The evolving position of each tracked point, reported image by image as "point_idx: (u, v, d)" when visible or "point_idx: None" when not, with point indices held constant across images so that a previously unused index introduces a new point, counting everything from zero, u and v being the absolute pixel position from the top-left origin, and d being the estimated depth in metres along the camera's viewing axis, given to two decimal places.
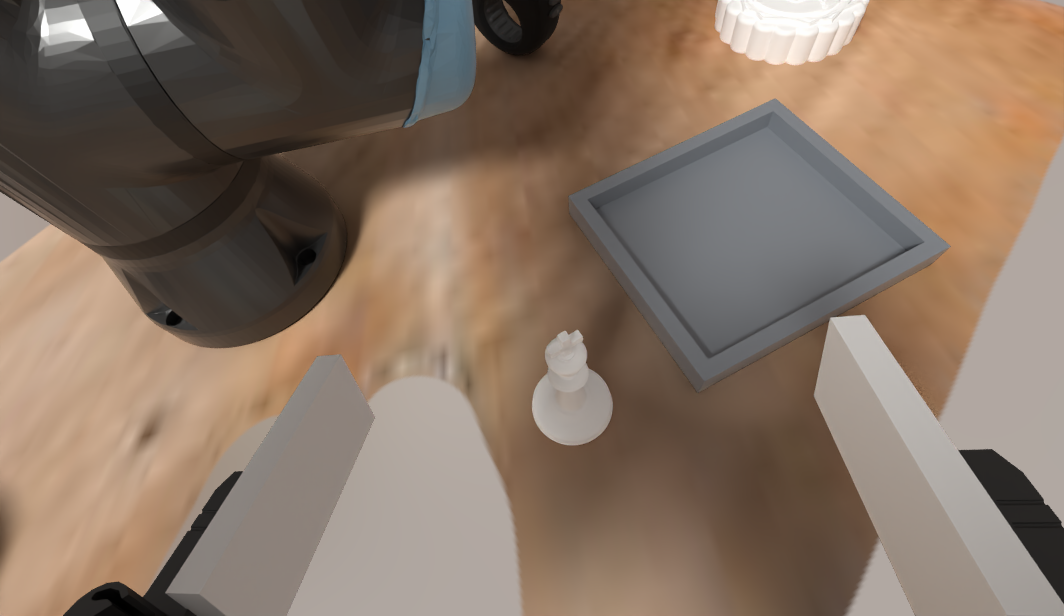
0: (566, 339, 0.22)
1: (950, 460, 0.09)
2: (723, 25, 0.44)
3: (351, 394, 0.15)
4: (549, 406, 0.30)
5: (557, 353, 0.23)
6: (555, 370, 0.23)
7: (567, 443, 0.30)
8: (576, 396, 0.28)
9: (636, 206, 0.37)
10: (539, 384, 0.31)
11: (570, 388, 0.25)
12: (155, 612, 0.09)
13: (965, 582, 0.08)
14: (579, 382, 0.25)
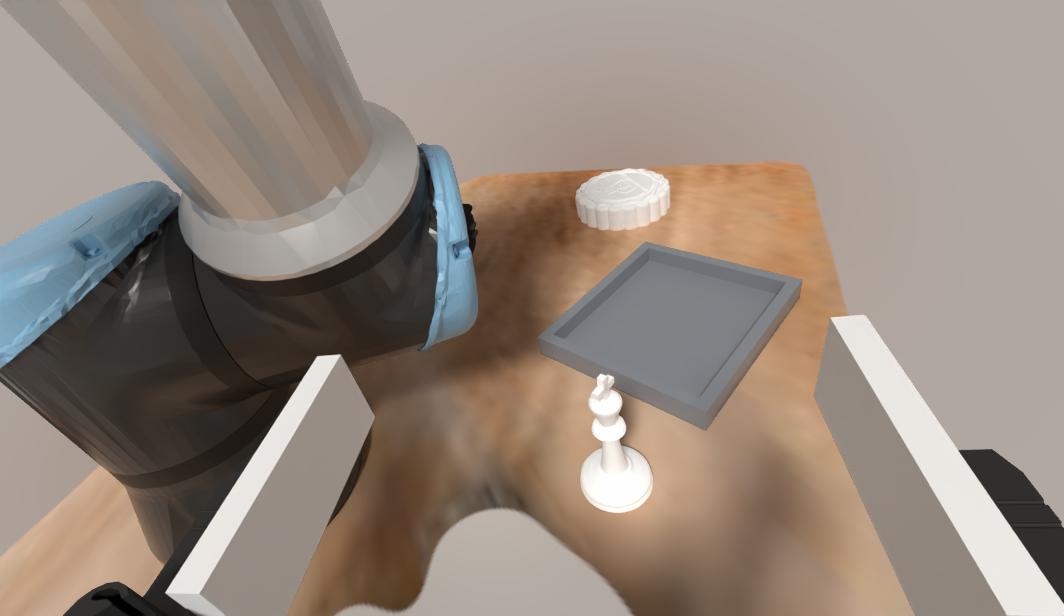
0: (604, 378, 0.28)
1: (950, 460, 0.09)
2: (587, 217, 0.63)
3: (351, 394, 0.15)
4: (600, 483, 0.33)
5: (601, 394, 0.29)
6: (603, 413, 0.29)
7: (629, 508, 0.32)
8: (621, 453, 0.32)
9: (588, 330, 0.47)
10: (582, 472, 0.34)
11: (617, 434, 0.30)
12: (155, 612, 0.09)
13: (965, 582, 0.08)
14: (621, 428, 0.31)
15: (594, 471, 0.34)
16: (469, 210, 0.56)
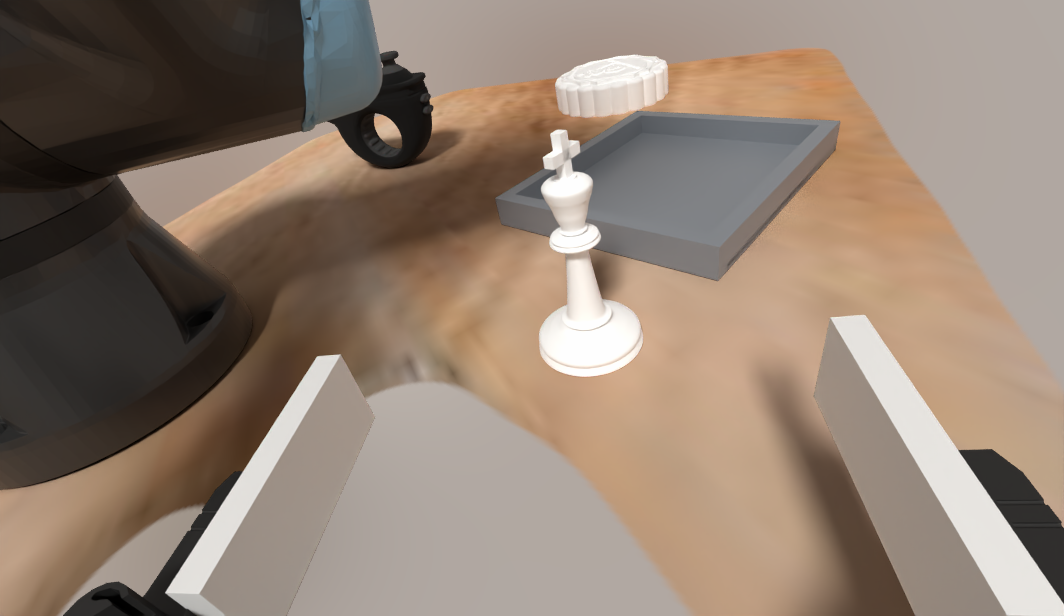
0: (563, 132, 0.18)
1: (950, 460, 0.09)
2: (569, 104, 0.52)
3: (351, 394, 0.15)
4: (565, 337, 0.23)
5: (558, 160, 0.18)
6: (563, 193, 0.19)
7: (607, 370, 0.22)
8: (595, 286, 0.22)
9: None
10: (542, 329, 0.24)
11: (586, 241, 0.20)
12: (155, 612, 0.09)
13: (965, 582, 0.08)
14: (593, 234, 0.20)
15: (558, 325, 0.23)
16: (421, 76, 0.45)
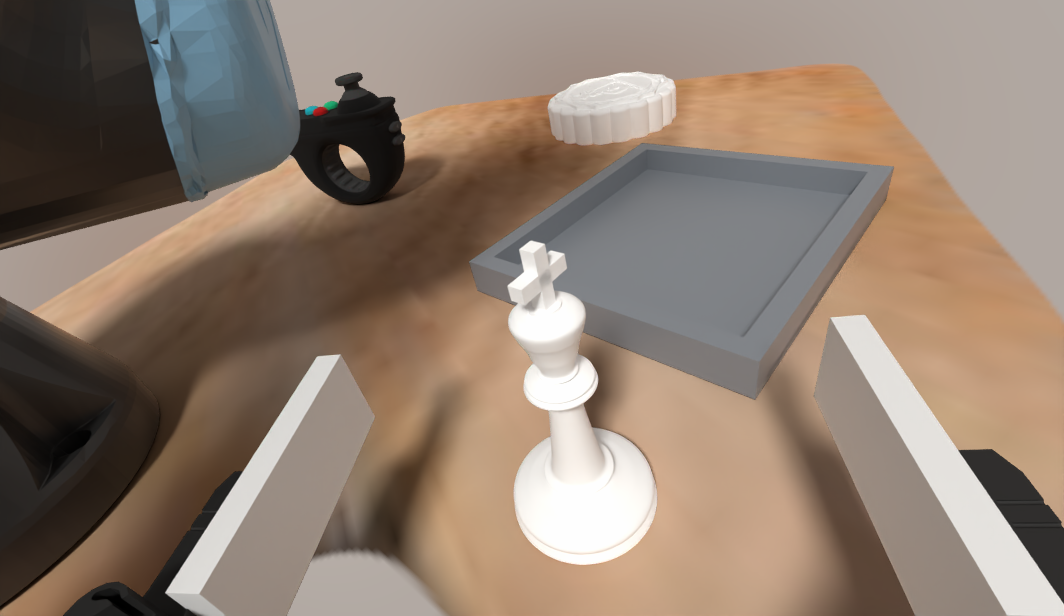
0: (538, 247, 0.12)
1: (950, 460, 0.09)
2: (563, 129, 0.46)
3: (351, 394, 0.15)
4: (549, 501, 0.16)
5: (532, 289, 0.12)
6: (539, 337, 0.12)
7: (607, 556, 0.15)
8: (589, 440, 0.15)
9: None
10: (518, 479, 0.18)
11: (576, 394, 0.13)
12: (155, 612, 0.09)
13: (965, 582, 0.08)
14: (587, 381, 0.14)
15: (539, 477, 0.17)
16: (389, 102, 0.39)
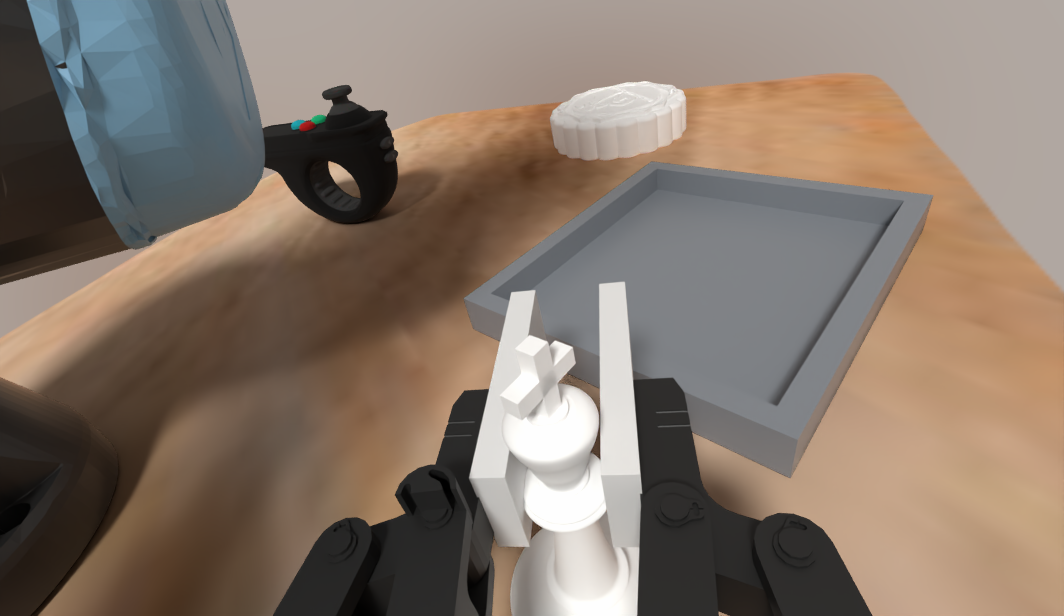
0: (540, 348, 0.09)
1: (623, 381, 0.12)
2: (566, 143, 0.43)
3: (540, 329, 0.16)
4: (552, 615, 0.14)
5: (531, 399, 0.09)
6: (541, 457, 0.09)
7: None
8: (601, 551, 0.13)
9: (556, 290, 0.27)
10: (515, 579, 0.15)
11: (587, 513, 0.11)
12: (466, 509, 0.10)
13: None
14: (600, 493, 0.11)
15: (540, 581, 0.14)
16: (380, 116, 0.36)
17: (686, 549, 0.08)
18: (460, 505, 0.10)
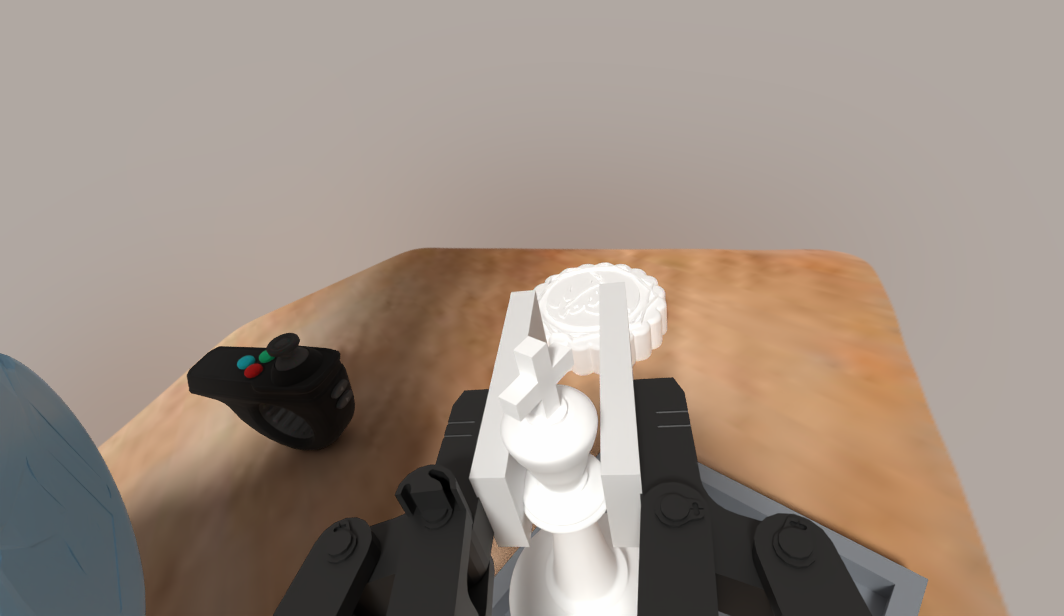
0: (538, 349, 0.09)
1: (623, 381, 0.12)
2: None
3: (540, 329, 0.16)
4: None
5: (530, 401, 0.09)
6: (539, 458, 0.09)
7: None
8: (600, 552, 0.13)
9: None
10: (514, 580, 0.15)
11: (586, 514, 0.11)
12: (466, 509, 0.10)
13: None
14: (598, 494, 0.11)
15: (540, 581, 0.14)
16: (331, 366, 0.33)
17: (686, 549, 0.08)
18: (460, 505, 0.10)
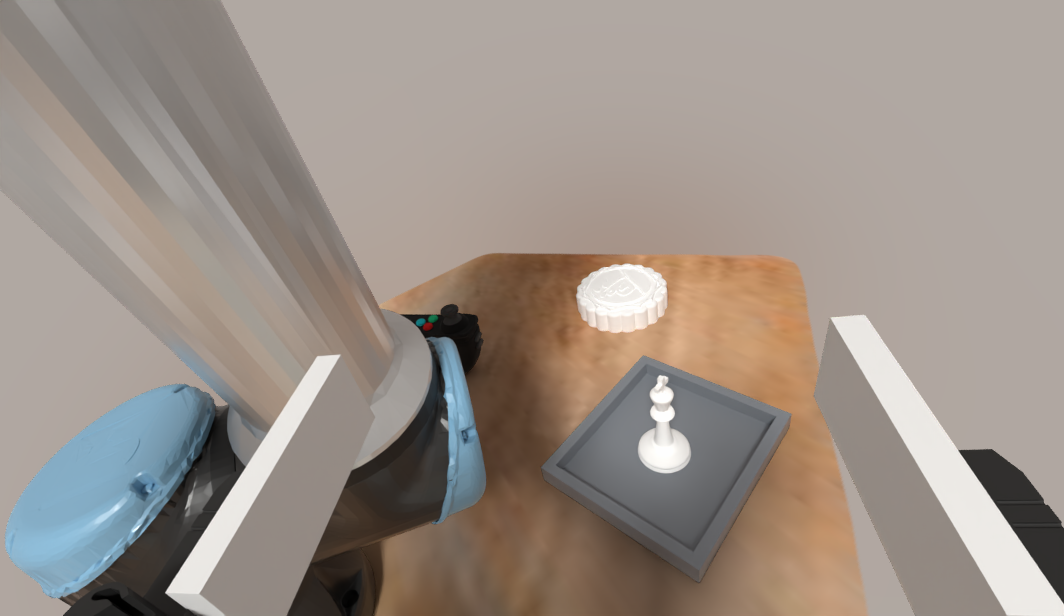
0: (663, 378, 0.42)
1: (950, 460, 0.09)
2: (587, 318, 0.65)
3: (351, 394, 0.15)
4: (654, 452, 0.47)
5: (660, 389, 0.42)
6: (661, 401, 0.43)
7: (675, 470, 0.46)
8: (670, 431, 0.46)
9: (589, 457, 0.49)
10: (640, 445, 0.48)
11: (669, 417, 0.44)
12: (155, 612, 0.09)
13: (965, 582, 0.08)
14: (672, 413, 0.44)
15: (648, 444, 0.48)
16: (475, 323, 0.58)
17: None
18: (145, 611, 0.09)
